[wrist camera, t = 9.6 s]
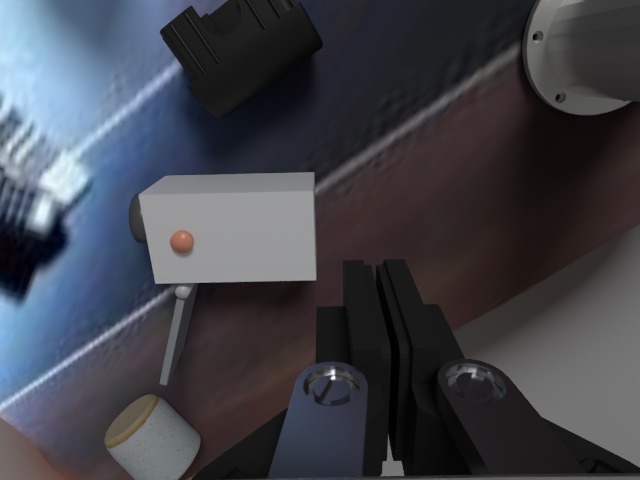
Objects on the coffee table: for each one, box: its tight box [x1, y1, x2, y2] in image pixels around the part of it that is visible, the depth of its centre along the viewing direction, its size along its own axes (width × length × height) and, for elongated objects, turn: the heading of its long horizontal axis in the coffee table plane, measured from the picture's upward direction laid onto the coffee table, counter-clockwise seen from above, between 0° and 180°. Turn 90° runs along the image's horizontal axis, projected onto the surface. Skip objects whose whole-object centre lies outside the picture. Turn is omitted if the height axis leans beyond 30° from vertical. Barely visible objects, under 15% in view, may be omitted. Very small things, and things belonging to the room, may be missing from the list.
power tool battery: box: [160, 0, 323, 118], centre depth 32 cm, size 10×7×7 cm
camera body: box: [129, 172, 317, 284], centre depth 38 cm, size 16×8×7 cm, turn 91°
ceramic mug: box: [105, 394, 201, 480], centre depth 48 cm, size 11×8×8 cm
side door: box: [160, 283, 198, 385], centre depth 42 cm, size 12×1×6 cm, turn 163°
